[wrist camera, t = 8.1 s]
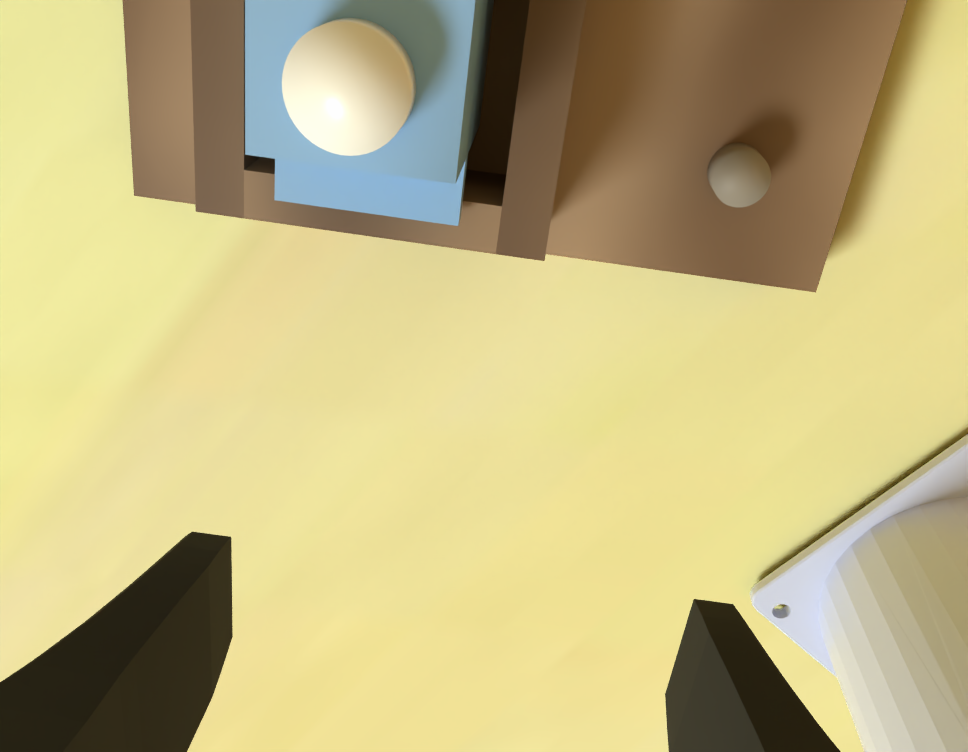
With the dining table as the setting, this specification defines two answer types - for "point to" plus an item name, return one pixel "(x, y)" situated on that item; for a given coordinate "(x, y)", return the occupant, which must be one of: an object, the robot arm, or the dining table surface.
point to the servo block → (367, 101)
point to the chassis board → (573, 130)
